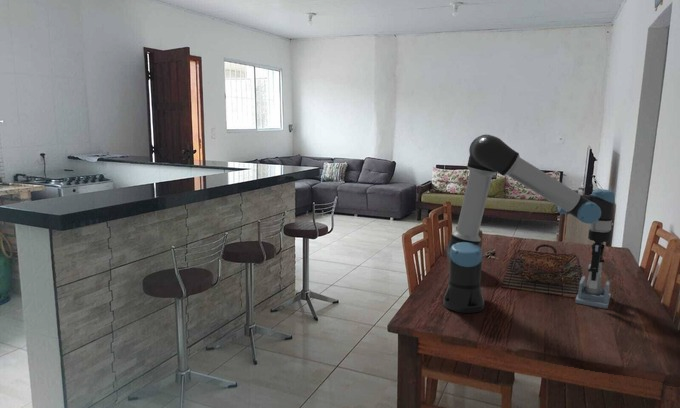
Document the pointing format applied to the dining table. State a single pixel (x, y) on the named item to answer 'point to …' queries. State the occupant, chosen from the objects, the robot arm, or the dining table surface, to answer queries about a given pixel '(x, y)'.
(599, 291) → the salt shaker
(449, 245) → the robot arm
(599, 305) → the blue bracket with posts
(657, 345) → the dining table surface
